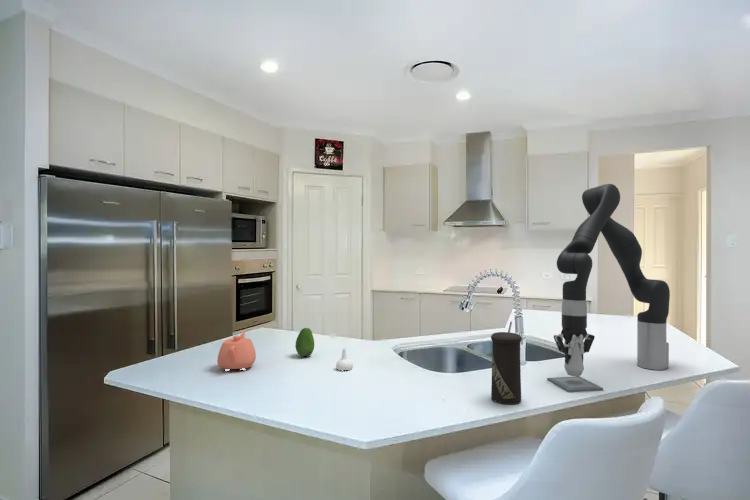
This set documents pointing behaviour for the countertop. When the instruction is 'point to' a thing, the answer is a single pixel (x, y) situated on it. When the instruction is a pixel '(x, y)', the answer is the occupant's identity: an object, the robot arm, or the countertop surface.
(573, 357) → the grey rounded lobed piece
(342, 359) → the garlic bulb
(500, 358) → the container
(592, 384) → the coaster
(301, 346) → the fruit
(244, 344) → the teapot
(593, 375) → the countertop surface
